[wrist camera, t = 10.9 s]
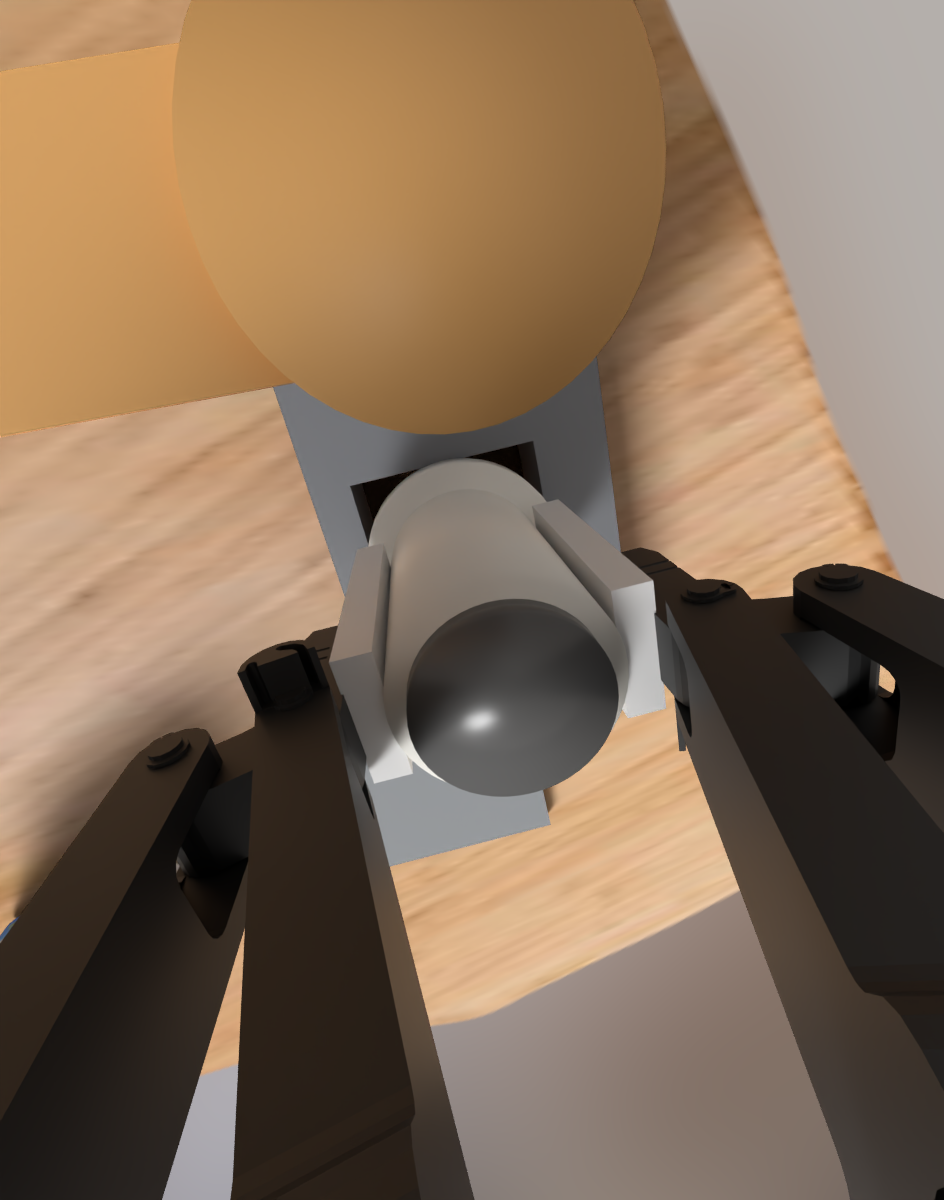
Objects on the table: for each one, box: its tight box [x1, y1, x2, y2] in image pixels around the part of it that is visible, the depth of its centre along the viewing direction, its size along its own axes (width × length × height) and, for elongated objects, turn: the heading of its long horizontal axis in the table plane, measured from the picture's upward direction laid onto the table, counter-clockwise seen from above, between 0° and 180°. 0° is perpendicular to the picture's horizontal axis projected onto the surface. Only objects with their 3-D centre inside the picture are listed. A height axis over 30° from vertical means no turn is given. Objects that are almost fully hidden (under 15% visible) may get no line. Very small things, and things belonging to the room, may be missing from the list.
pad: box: [365, 761, 551, 866], centre depth 24 cm, size 8×8×1 cm
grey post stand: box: [273, 356, 621, 596], centre depth 14 cm, size 14×9×14 cm, turn 13°
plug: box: [368, 458, 629, 797], centre depth 15 cm, size 6×6×12 cm
